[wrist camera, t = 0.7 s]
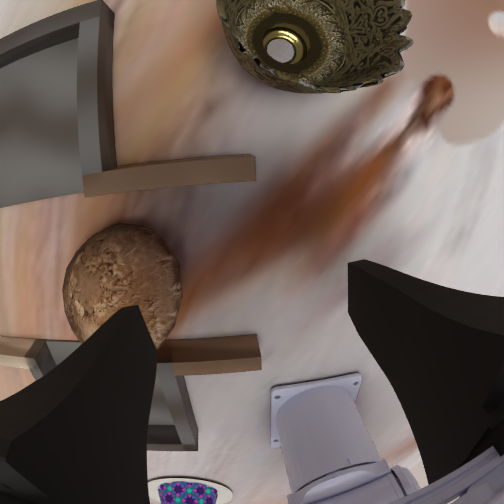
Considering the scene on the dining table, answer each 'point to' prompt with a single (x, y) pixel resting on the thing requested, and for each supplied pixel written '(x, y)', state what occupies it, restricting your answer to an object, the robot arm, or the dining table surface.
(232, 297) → the dining table surface
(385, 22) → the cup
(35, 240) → the dining table surface
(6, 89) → the grey brown flat frame
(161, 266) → the mushroom
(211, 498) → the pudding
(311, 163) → the dining table surface
